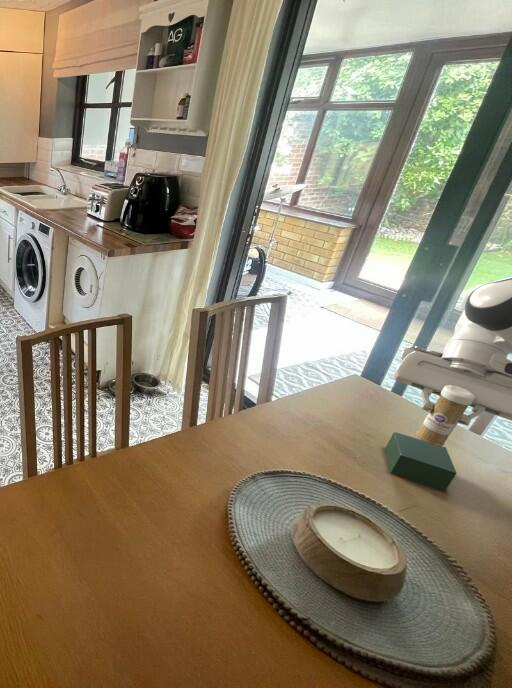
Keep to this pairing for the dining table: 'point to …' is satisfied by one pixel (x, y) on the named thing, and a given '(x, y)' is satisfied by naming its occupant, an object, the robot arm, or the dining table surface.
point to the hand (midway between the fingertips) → (444, 416)
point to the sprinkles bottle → (445, 415)
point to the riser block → (420, 461)
